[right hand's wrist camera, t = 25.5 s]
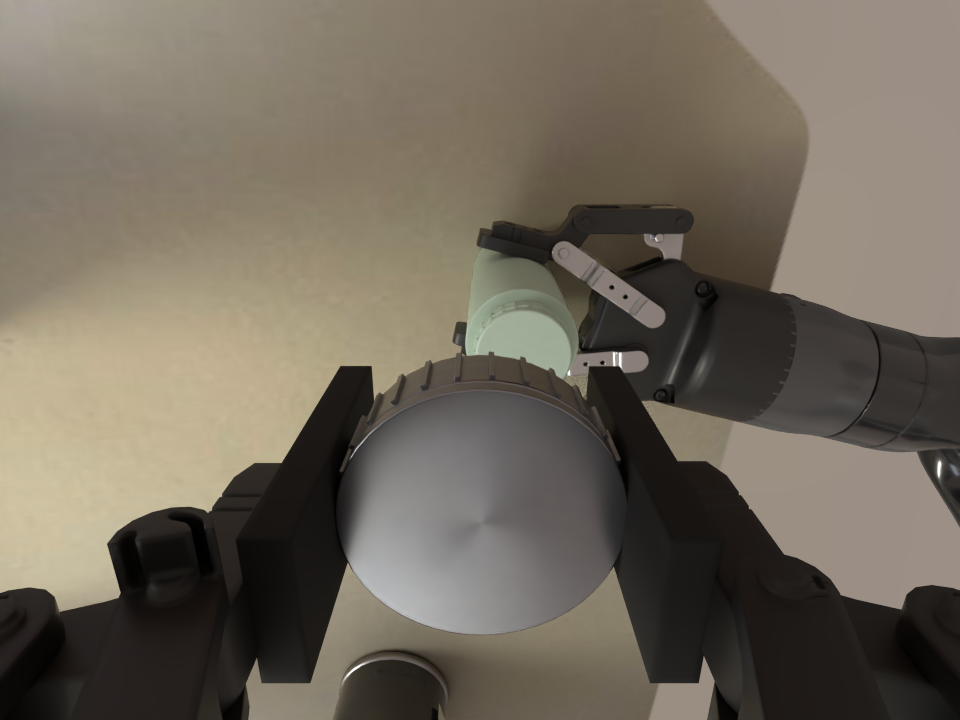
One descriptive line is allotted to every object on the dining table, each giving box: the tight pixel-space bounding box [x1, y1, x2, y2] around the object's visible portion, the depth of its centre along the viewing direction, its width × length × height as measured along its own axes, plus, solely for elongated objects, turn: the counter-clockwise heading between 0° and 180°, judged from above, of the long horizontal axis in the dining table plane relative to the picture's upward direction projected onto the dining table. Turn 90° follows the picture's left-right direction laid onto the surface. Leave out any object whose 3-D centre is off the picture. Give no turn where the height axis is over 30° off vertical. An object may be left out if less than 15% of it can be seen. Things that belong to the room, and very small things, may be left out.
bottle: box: [465, 248, 579, 379], centre depth 30 cm, size 5×5×16 cm
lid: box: [335, 351, 628, 635], centre depth 11 cm, size 6×6×2 cm
